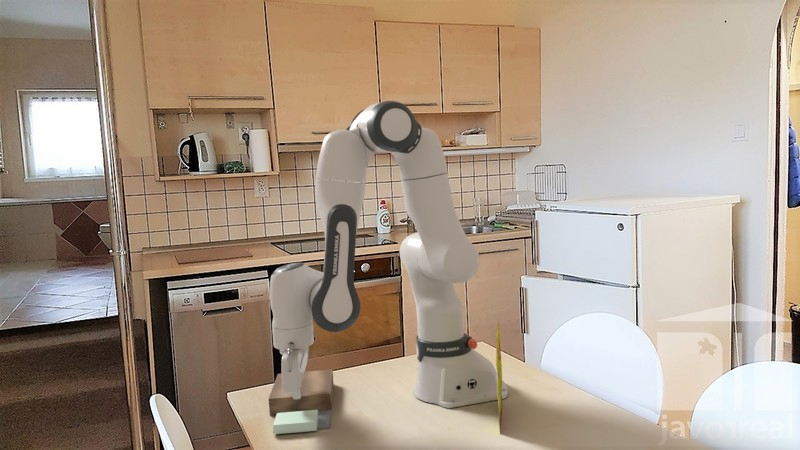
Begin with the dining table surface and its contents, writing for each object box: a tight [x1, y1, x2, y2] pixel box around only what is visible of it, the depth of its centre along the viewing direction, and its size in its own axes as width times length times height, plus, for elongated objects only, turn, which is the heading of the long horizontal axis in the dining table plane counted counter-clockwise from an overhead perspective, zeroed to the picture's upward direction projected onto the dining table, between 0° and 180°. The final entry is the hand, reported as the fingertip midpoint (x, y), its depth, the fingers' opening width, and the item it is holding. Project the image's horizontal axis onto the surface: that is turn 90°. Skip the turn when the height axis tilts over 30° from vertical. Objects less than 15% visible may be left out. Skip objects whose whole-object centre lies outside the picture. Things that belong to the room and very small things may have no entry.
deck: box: [268, 369, 335, 417], centre depth 139 cm, size 14×16×4 cm
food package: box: [495, 319, 503, 431], centre depth 122 cm, size 15×1×20 cm, turn 168°
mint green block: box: [272, 410, 318, 435], centre depth 123 cm, size 9×6×2 cm, turn 94°
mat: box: [272, 409, 332, 434], centre depth 126 cm, size 12×8×1 cm
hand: (297, 396), depth 128 cm, fingers closed
